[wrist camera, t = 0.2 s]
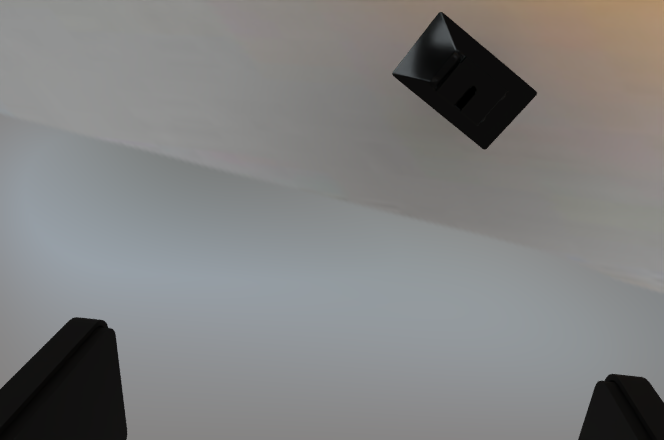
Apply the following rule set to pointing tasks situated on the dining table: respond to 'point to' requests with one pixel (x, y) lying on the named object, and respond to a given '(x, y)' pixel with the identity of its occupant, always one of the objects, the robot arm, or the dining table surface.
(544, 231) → the dining table surface
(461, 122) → the build plate
